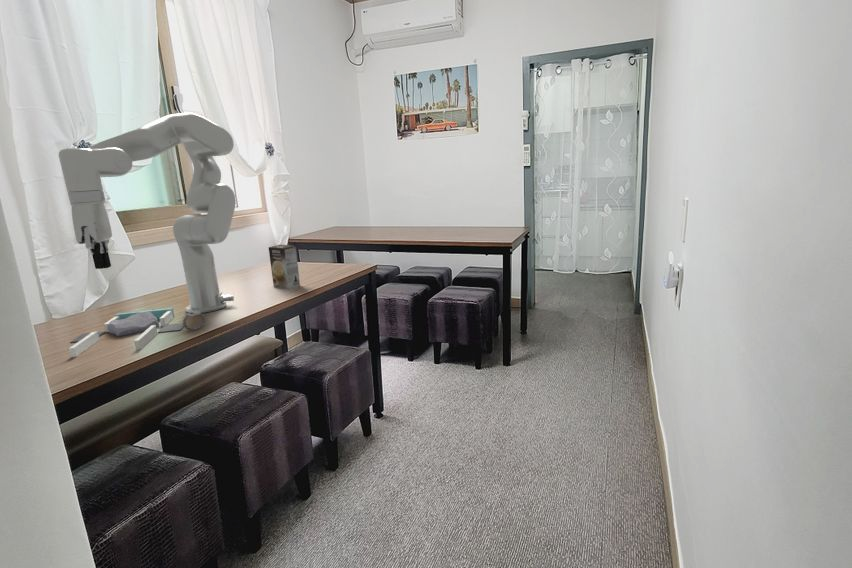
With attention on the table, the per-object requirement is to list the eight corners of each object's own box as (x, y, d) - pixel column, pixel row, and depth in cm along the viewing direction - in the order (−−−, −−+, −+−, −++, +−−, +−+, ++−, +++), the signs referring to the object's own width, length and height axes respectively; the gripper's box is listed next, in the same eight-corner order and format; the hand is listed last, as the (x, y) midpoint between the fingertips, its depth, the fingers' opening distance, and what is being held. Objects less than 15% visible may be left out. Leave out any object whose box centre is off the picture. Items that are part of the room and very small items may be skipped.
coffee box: (272, 287, 183) (267, 247, 180) (285, 283, 189) (280, 244, 185) (288, 289, 179) (283, 248, 175) (301, 285, 184) (296, 245, 180)
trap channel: (194, 314, 152) (193, 305, 151) (166, 346, 124) (163, 335, 123) (97, 325, 146) (94, 316, 146) (44, 360, 119) (41, 349, 118)
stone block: (164, 332, 142) (149, 320, 148) (161, 318, 140) (147, 307, 146) (120, 345, 134) (107, 333, 139) (117, 331, 132) (104, 318, 137)
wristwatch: (202, 325, 141) (199, 309, 139) (208, 326, 139) (205, 310, 138) (182, 331, 136) (179, 315, 134) (188, 333, 134) (185, 316, 133)
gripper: (84, 197, 126) (100, 264, 131) (55, 201, 112) (73, 275, 117) (115, 195, 128) (129, 261, 132) (90, 199, 114) (107, 272, 118)
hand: (103, 267), depth 125 cm, fingers closed
